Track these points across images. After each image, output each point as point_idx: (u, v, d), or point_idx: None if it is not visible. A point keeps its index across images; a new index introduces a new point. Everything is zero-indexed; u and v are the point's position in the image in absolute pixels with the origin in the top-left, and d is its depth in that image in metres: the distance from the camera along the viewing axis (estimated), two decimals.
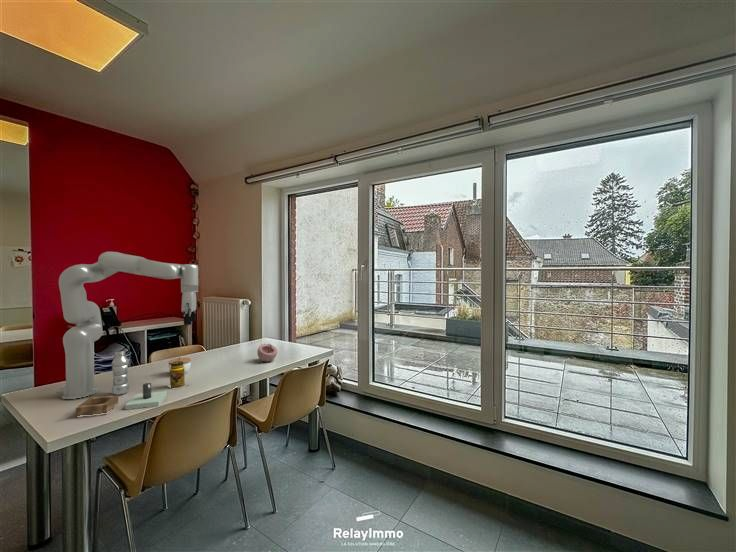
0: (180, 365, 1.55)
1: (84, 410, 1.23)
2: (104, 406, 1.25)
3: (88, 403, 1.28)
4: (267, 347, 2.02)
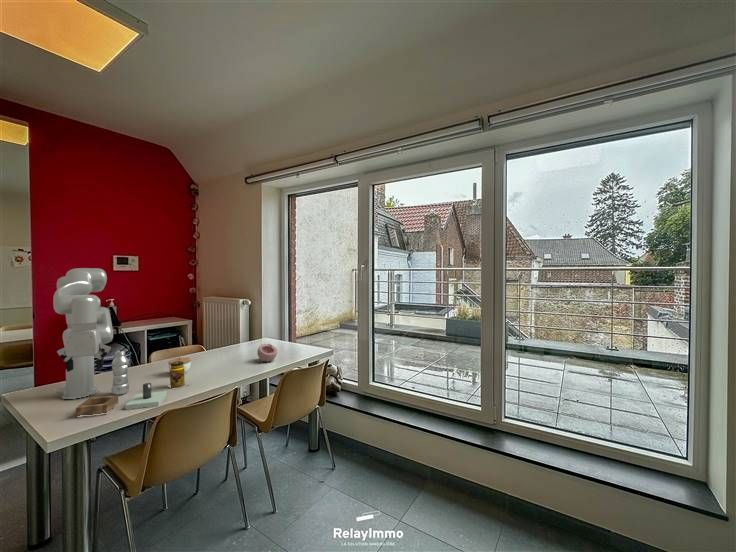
0: (180, 365, 1.55)
1: (84, 410, 1.23)
2: (104, 406, 1.25)
3: (88, 403, 1.28)
4: (267, 347, 2.02)
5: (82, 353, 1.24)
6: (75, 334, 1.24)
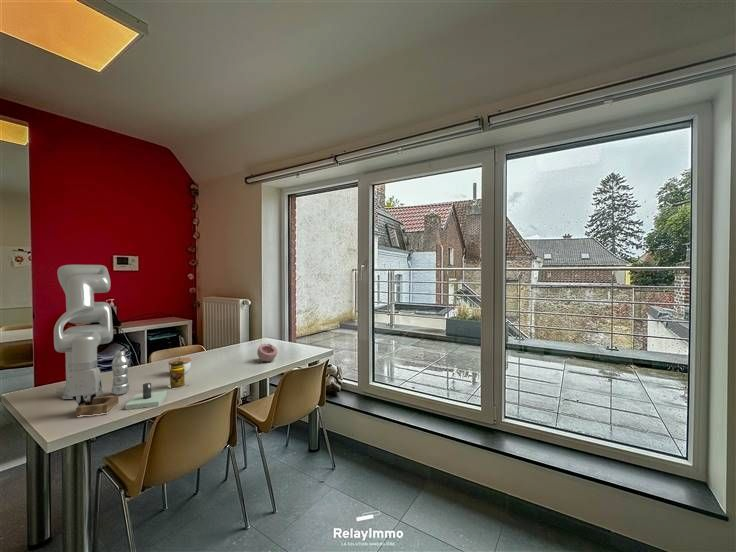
0: (180, 365, 1.55)
1: (84, 410, 1.23)
2: (104, 406, 1.25)
3: None
4: (267, 347, 2.02)
5: (82, 392, 1.25)
6: (75, 374, 1.24)
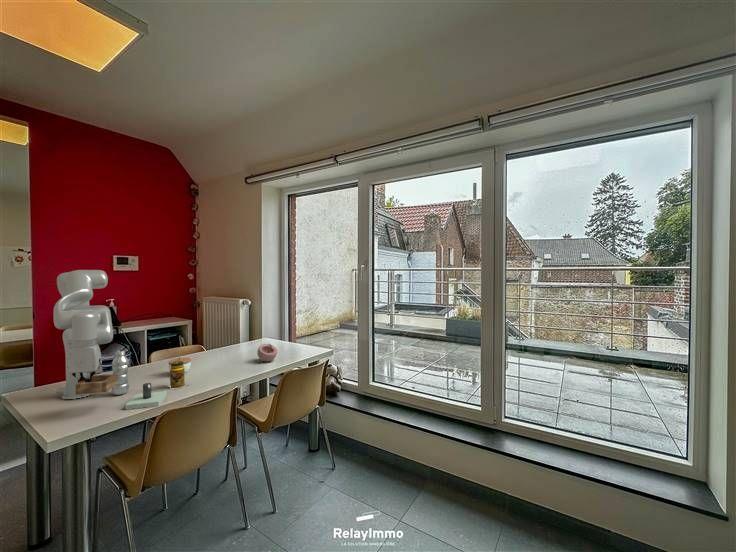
0: (180, 365, 1.55)
1: (84, 386, 1.24)
2: (104, 383, 1.26)
3: None
4: (267, 347, 2.02)
5: (82, 369, 1.25)
6: (75, 350, 1.24)
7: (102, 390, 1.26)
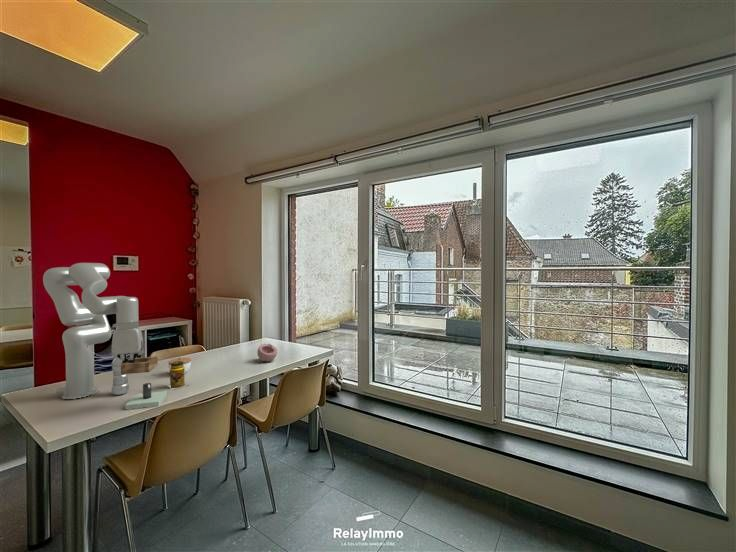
0: (180, 365, 1.55)
1: (128, 367, 1.30)
2: (146, 364, 1.32)
3: None
4: (267, 347, 2.02)
5: (126, 350, 1.32)
6: (120, 332, 1.31)
7: (145, 370, 1.32)
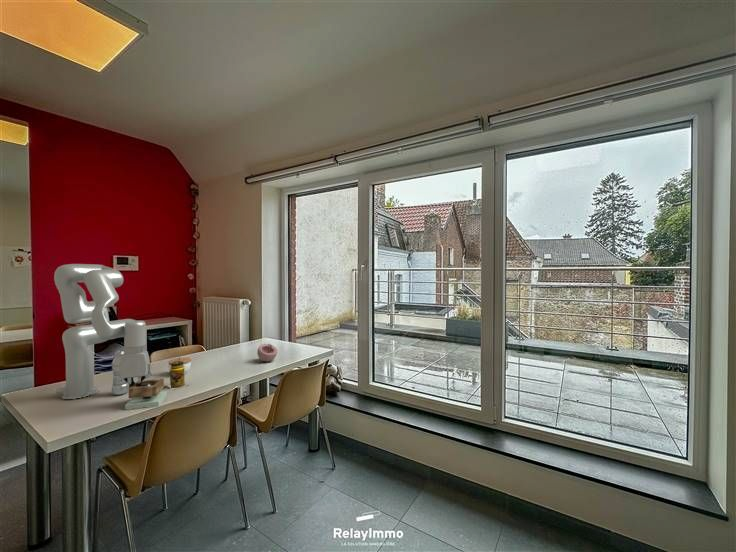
0: (180, 365, 1.55)
1: (136, 391, 1.32)
2: (154, 387, 1.34)
3: None
4: (267, 347, 2.02)
5: (134, 374, 1.33)
6: (128, 356, 1.33)
7: (152, 394, 1.34)
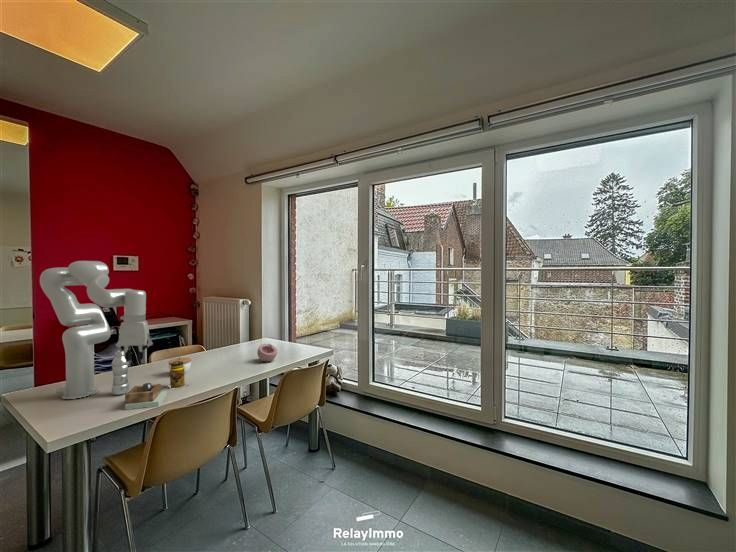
0: (180, 365, 1.55)
1: (132, 396, 1.32)
2: (150, 393, 1.33)
3: (134, 391, 1.37)
4: (267, 347, 2.02)
5: (133, 343, 1.34)
6: (127, 325, 1.34)
7: (149, 399, 1.33)
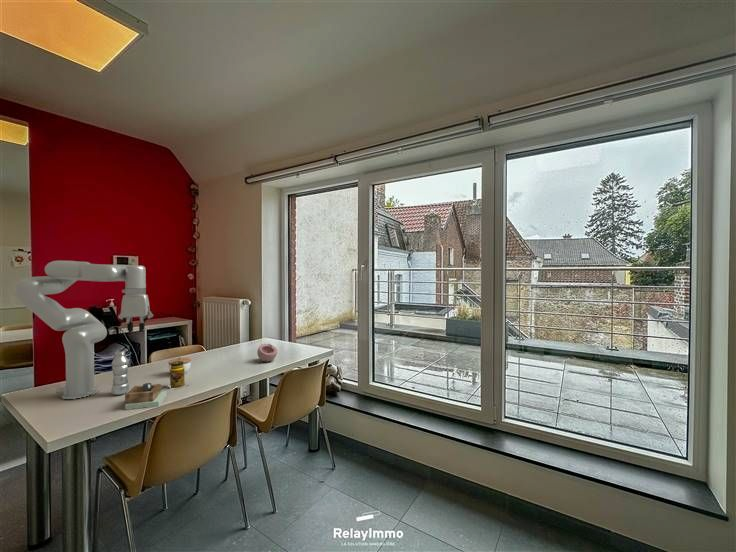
0: (180, 365, 1.55)
1: (132, 396, 1.32)
2: (150, 393, 1.33)
3: (134, 391, 1.37)
4: (267, 347, 2.02)
5: (134, 314, 1.43)
6: (129, 297, 1.42)
7: (149, 399, 1.33)
